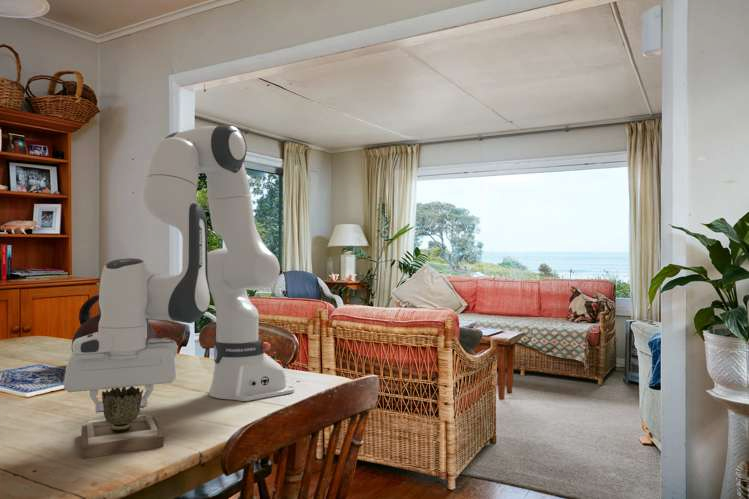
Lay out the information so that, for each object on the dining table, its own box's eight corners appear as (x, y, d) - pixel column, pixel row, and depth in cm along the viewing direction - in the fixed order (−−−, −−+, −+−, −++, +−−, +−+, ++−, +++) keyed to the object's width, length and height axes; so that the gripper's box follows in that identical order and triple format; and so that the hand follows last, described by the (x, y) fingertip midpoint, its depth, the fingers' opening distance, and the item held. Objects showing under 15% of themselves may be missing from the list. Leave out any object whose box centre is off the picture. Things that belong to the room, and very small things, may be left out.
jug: (112, 356, 195) (113, 286, 195) (171, 361, 187) (172, 289, 188) (51, 370, 172) (53, 290, 172) (115, 376, 164) (117, 293, 164)
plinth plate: (154, 425, 118) (154, 412, 118) (163, 446, 106) (163, 431, 106) (81, 435, 112) (81, 420, 112) (81, 458, 99) (82, 442, 99)
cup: (94, 429, 109) (96, 389, 109) (132, 422, 114) (134, 384, 114) (107, 439, 103) (109, 397, 103) (146, 431, 109) (148, 391, 109)
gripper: (175, 334, 117) (173, 399, 116) (65, 340, 107) (63, 411, 107) (179, 339, 111) (178, 407, 111) (64, 345, 101) (62, 420, 101)
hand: (121, 409), depth 109 cm, fingers closed on cup, 6 cm apart
